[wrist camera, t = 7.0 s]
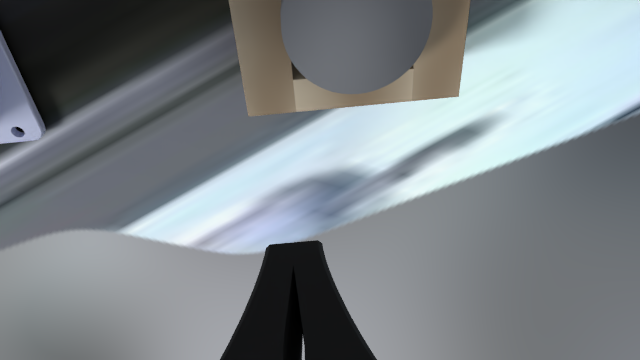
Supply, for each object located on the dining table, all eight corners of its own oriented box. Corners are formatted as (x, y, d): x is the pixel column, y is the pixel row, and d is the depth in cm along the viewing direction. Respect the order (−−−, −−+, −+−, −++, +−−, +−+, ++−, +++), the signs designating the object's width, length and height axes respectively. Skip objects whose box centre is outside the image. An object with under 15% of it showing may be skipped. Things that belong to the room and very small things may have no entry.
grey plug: (286, 58, 19) (288, 100, 16) (271, -74, 17) (272, -52, 14) (403, 47, 20) (427, 87, 17) (409, -86, 17) (439, -66, 14)
